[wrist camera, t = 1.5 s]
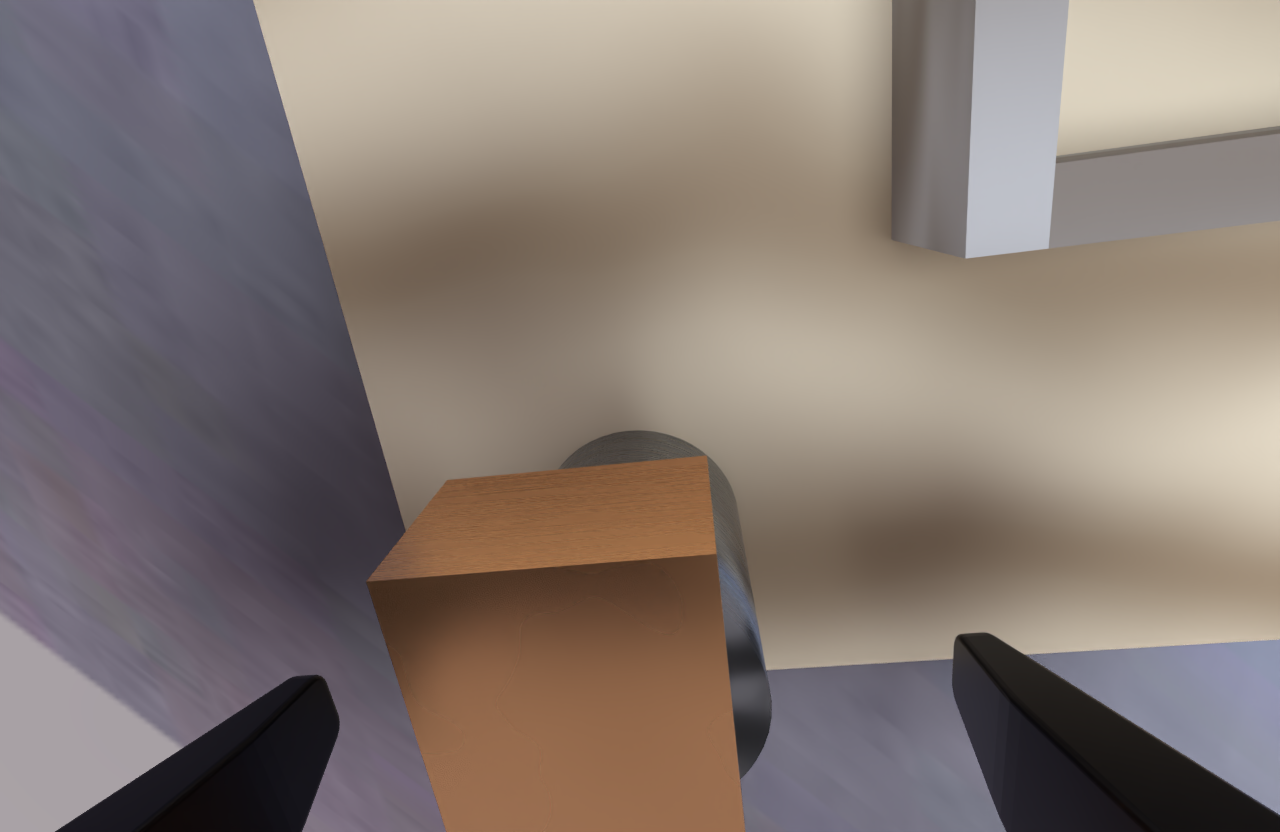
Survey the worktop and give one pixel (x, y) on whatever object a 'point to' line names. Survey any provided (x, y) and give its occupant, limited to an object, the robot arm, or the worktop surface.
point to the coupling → (581, 644)
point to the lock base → (836, 287)
